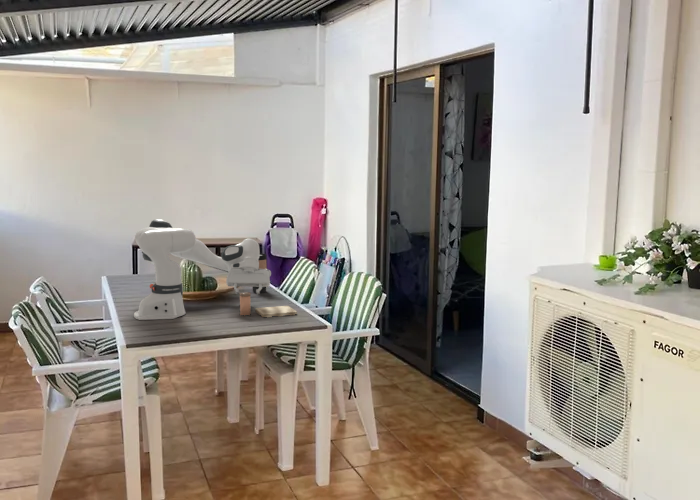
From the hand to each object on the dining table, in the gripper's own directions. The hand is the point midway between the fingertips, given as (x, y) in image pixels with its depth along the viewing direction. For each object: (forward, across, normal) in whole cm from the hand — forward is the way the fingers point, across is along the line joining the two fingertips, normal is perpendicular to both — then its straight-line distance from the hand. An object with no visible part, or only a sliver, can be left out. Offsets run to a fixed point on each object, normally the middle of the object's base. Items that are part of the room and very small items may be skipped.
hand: (247, 293), depth 302 cm
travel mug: (-25, -3, -39) cm, 47 cm away
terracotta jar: (+10, 0, -2) cm, 10 cm away
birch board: (+8, -13, -4) cm, 16 cm away
